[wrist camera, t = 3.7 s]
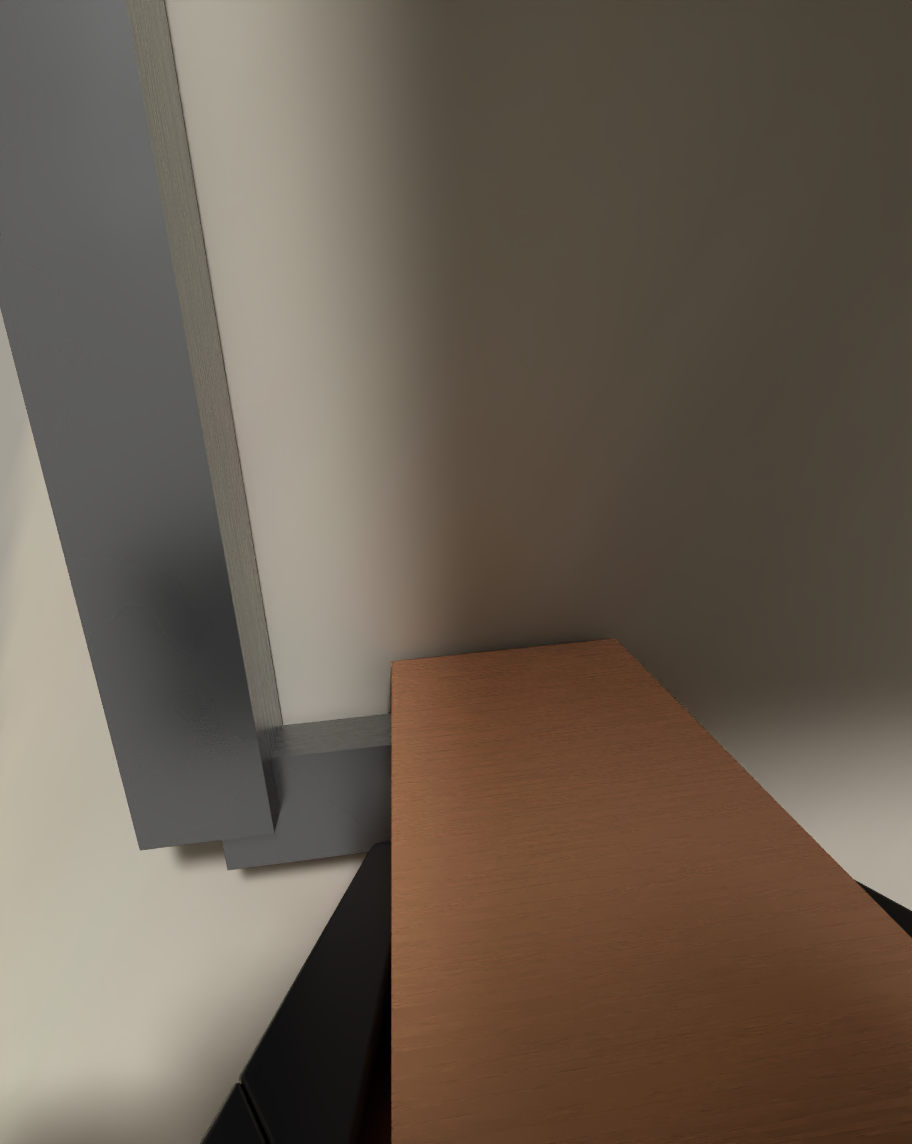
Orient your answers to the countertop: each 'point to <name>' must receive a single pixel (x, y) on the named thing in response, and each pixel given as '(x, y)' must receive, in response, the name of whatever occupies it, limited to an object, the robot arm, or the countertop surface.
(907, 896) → the countertop surface
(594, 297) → the countertop surface
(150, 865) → the countertop surface
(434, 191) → the countertop surface
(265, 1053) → the robot arm
